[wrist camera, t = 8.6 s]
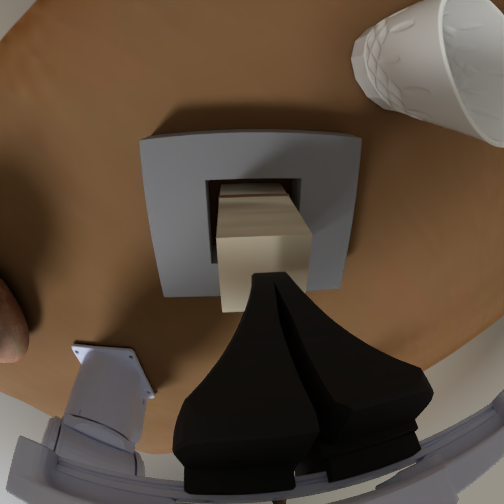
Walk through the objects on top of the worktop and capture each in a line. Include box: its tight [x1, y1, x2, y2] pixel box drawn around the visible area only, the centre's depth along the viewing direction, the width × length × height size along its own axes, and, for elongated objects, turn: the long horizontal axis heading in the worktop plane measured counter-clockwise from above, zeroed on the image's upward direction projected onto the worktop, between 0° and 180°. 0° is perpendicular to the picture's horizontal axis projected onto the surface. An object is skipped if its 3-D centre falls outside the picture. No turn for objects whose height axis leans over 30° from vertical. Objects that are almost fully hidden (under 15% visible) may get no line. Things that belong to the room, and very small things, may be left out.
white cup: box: [351, 0, 504, 148], centre depth 10 cm, size 8×8×10 cm
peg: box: [216, 183, 313, 312], centre depth 16 cm, size 4×4×8 cm
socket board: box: [139, 129, 362, 297], centre depth 18 cm, size 11×13×2 cm
